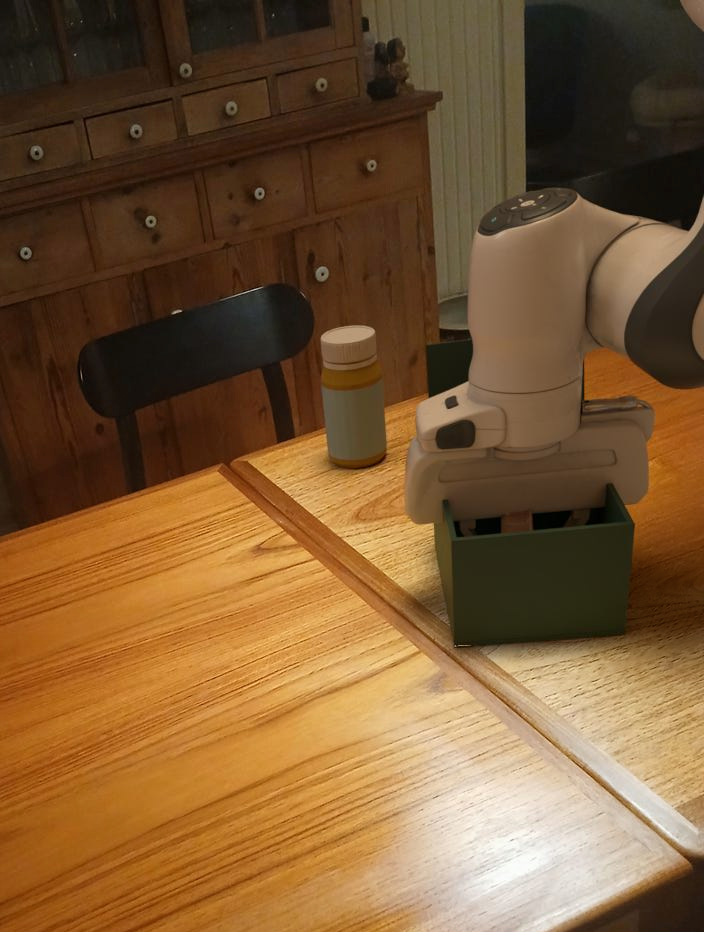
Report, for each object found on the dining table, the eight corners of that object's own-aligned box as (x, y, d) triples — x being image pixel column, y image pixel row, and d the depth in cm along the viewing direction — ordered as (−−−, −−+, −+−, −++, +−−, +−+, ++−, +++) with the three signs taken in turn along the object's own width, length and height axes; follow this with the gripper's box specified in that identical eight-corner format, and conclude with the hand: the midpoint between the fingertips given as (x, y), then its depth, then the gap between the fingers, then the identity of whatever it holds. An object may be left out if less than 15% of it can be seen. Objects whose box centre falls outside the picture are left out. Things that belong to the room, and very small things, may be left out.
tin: (538, 627, 84) (540, 541, 79) (500, 627, 85) (500, 542, 80) (534, 540, 96) (536, 461, 91) (500, 541, 97) (501, 462, 92)
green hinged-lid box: (454, 647, 84) (451, 540, 78) (434, 545, 99) (430, 448, 93) (625, 634, 82) (635, 523, 76) (579, 531, 97) (584, 432, 91)
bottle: (324, 451, 122) (311, 331, 113) (379, 441, 122) (371, 320, 113) (334, 474, 116) (322, 349, 108) (393, 463, 116) (385, 337, 108)
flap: (425, 344, 90) (425, 344, 90) (431, 442, 93) (430, 441, 93) (584, 325, 88) (583, 325, 88) (584, 425, 90) (583, 424, 91)
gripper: (646, 378, 82) (633, 525, 90) (398, 407, 85) (405, 546, 93) (668, 407, 77) (652, 560, 84) (402, 436, 80) (410, 581, 88)
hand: (521, 553), depth 89 cm, fingers open, 6 cm apart
